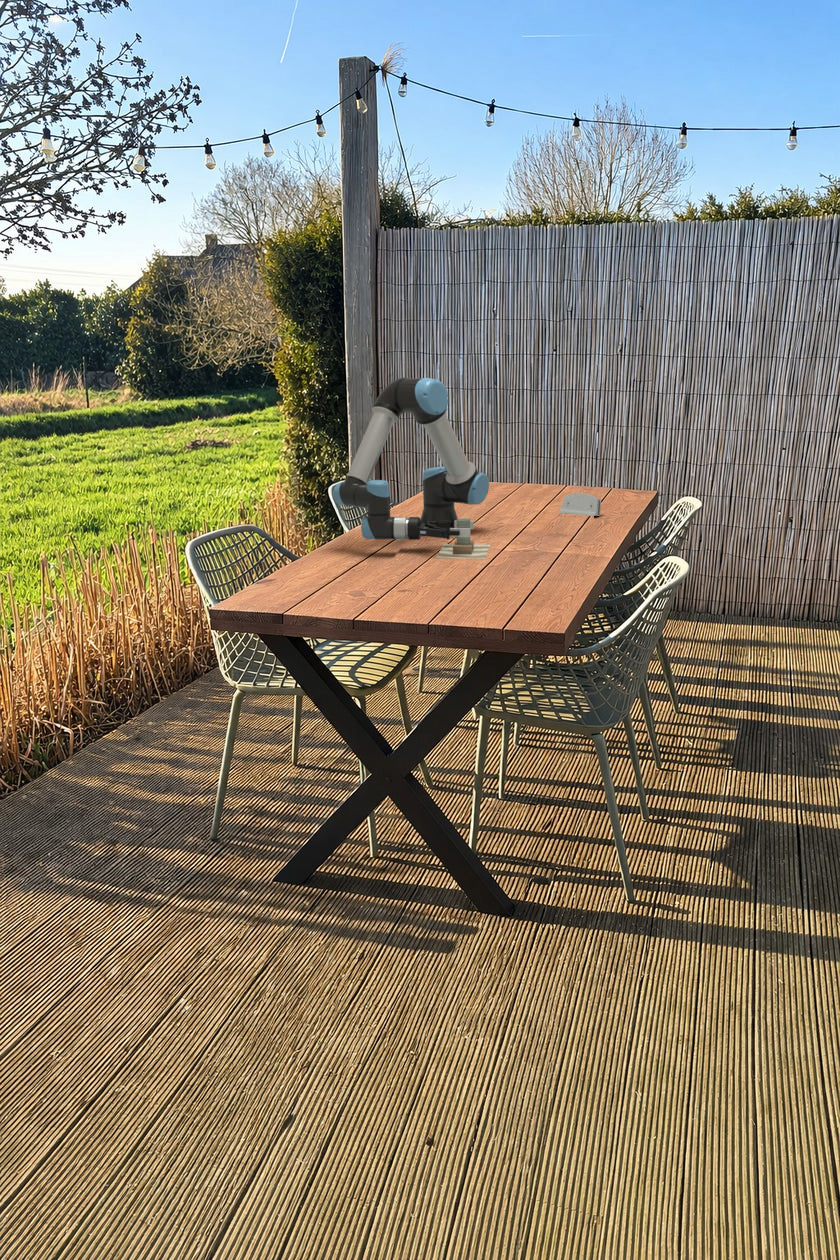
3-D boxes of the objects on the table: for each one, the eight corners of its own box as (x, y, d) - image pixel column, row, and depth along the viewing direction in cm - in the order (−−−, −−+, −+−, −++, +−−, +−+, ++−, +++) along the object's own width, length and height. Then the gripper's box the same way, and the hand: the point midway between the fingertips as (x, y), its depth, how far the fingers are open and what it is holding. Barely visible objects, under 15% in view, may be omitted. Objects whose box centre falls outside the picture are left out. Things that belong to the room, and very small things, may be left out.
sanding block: (456, 547, 329) (455, 516, 326) (473, 548, 328) (473, 516, 325) (453, 554, 320) (452, 522, 317) (471, 554, 319) (471, 522, 316)
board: (443, 548, 336) (443, 544, 336) (490, 548, 334) (490, 544, 333) (435, 562, 315) (435, 558, 315) (485, 563, 313) (485, 558, 313)
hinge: (557, 514, 395) (562, 490, 394) (562, 517, 398) (567, 493, 398) (594, 518, 385) (599, 493, 385) (599, 521, 389) (604, 496, 388)
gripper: (413, 532, 337) (475, 532, 334) (402, 547, 314) (468, 547, 311) (413, 510, 335) (475, 510, 332) (402, 524, 311) (468, 524, 309)
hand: (472, 528), depth 322 cm, fingers open, 13 cm apart
